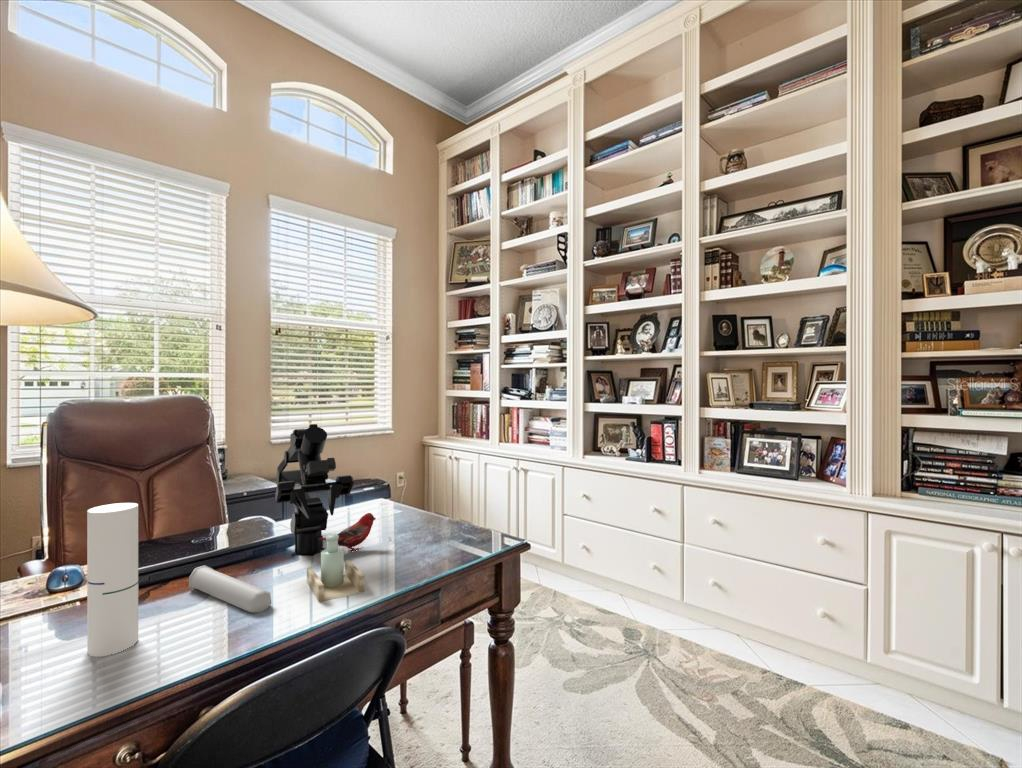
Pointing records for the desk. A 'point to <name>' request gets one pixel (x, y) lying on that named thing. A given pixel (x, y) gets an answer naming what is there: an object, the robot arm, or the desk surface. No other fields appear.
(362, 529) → the decorative bird figurine
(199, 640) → the desk surface
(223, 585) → the tube
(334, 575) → the bottle
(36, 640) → the desk surface
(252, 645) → the desk surface
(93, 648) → the cylindrical container
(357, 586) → the cradle
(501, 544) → the desk surface
